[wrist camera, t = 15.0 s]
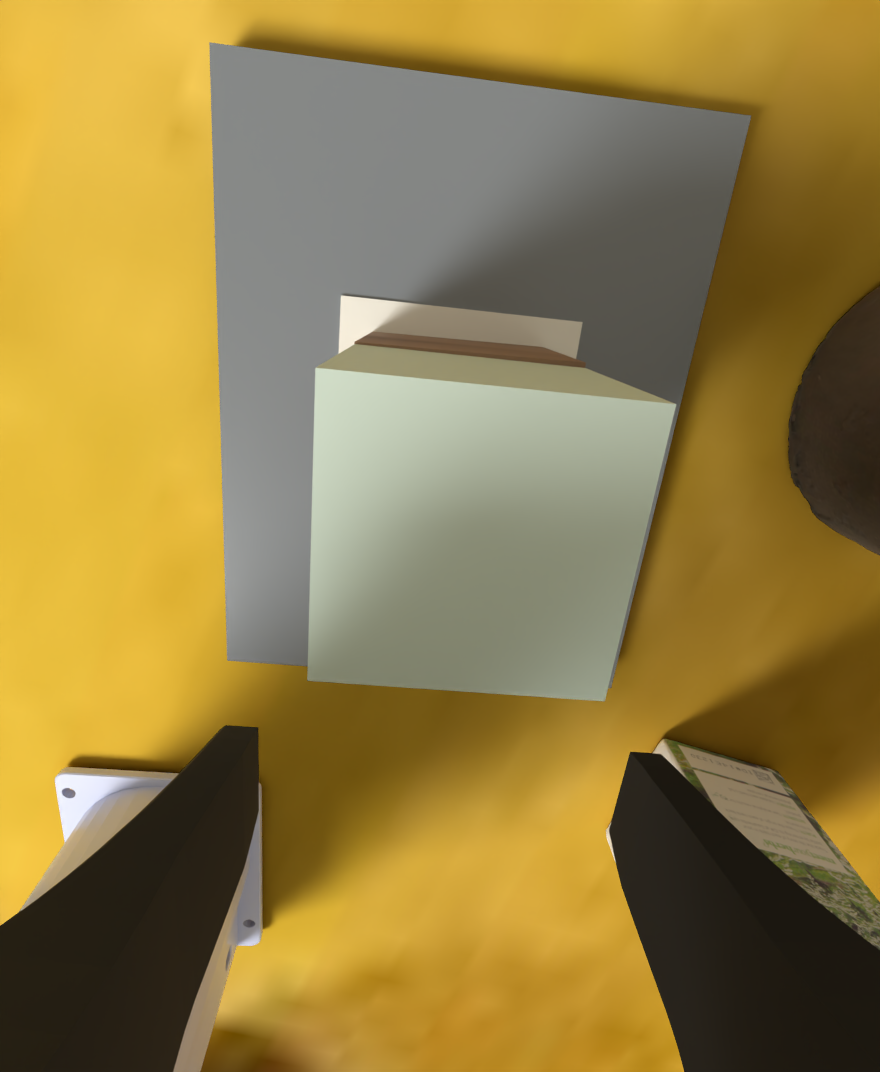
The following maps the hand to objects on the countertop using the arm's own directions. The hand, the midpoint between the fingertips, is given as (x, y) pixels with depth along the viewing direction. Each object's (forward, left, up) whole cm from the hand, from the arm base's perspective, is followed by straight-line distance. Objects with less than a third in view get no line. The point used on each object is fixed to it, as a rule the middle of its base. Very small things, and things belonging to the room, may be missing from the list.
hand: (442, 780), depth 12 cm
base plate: (+5, 0, -10) cm, 12 cm away
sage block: (+5, 0, -4) cm, 7 cm away
